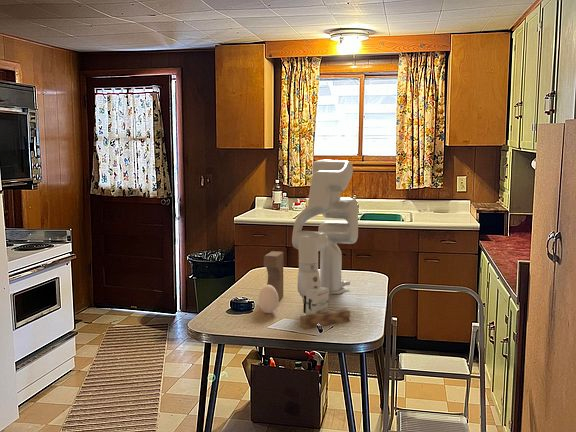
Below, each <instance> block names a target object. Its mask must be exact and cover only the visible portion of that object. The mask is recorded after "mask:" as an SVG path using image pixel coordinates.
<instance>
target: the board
mask: <svg viewBox="0 0 576 432" xmlns="http://www.w3.org/2000/svg"><path fill="white" fill-rule="evenodd" d="M299 319H300V320H299V321H300V325H299V327H300V328H302V329H303V330H307V329H308V330H309V329H313V328H318V327H317V324H318V323H319V324H320V325H322V326H321V327H325V326H330V325H335V324H340V323H346V322H350V321H351V311H350V310H349V309H347V308H340V309H335V310H331V311H330V310H328V312H323V313H317V314H311V315H306V314H304V315H301V316H300V318H299Z"/></svg>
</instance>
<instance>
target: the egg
mask: <svg viewBox="0 0 576 432" xmlns="http://www.w3.org/2000/svg"><path fill="white" fill-rule="evenodd" d="M279 301H280V300H279V298H278V294H277V291H276V289H275V288H274V287H273V286H271V285H267V284H266V285H264V286H263V287H262V288H261V290H260V291H259V294H258V301H257V302H258V306H259V309H260V310H261V311H262V312H263V313H265V314H273V312H275V311H276V310H277V308H278V305H279Z"/></svg>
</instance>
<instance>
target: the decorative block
mask: <svg viewBox="0 0 576 432" xmlns="http://www.w3.org/2000/svg"><path fill="white" fill-rule="evenodd" d="M263 267H264V268H266V271H267V283H266V285H271V286H273V287H274V288H275V289H276V291H277V294H278V298H279V301H280V300H281V299H282V298H283V297H284V252H283V251H275V250H271V251H270V252H268V253H266V254H265V255H264V256H263Z"/></svg>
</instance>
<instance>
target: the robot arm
mask: <svg viewBox="0 0 576 432" xmlns="http://www.w3.org/2000/svg"><path fill="white" fill-rule="evenodd" d="M311 169H312V175H311V180H310V184H309V185H310V186H309V192H308V193H309V194H308V202H307V206H306V207H305V208H304V209H303V210H301V212H300V213H299V214H297V217H296V219H295V220H294V224H293V228H292V229H293V230H292V236H291V243H292V247H293V248H294V249H296V250H298V273H297V292H298V293H299V295H300V296H301V298H302V303H303V312H302V313H304V315H306V291H307V290H310V289H314V288H320V287H326V288H329V295H340V294H343V293H344V292H345V290H346V289H345V286H350V285H351V281H350V280H347V281H346V280H342V263H343V262H342V260H343V258H342V255H343V254H342V250H341V248H340V247H339V246H338V244H348V245H351V244H355V243H356V242H357V240H358V238H359V207H358V206H359V205H358V202H357V200H356V199H354V198H352V197H342V195H341V192H344V191H345V190H346V189H347V187H348V186H349V184H350V181H351V179H352V177H353V173H354V166H353V163H352V162H351V161H349V160H341V159H340V160H338V159H335V160H334V159H320V160H319V159H318V160H316V161H313V162H312V165H311ZM319 215H322V217H324V218H325V219H330V220H329V221H322V222H321V223H320V224H319V225H318V228H317V229H318V231H314V230H312V231H311V230H302V229H303V226H304V224H305V223H306V222H307V221H309V220H310V219H311V218H313V217H316V216H319ZM331 219H332V220H331ZM337 220H345V221H337ZM319 252H320V254H319ZM319 257H320V258H319ZM319 260H320V261H319ZM319 262H320V263H319ZM319 265H320V266H319Z"/></svg>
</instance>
